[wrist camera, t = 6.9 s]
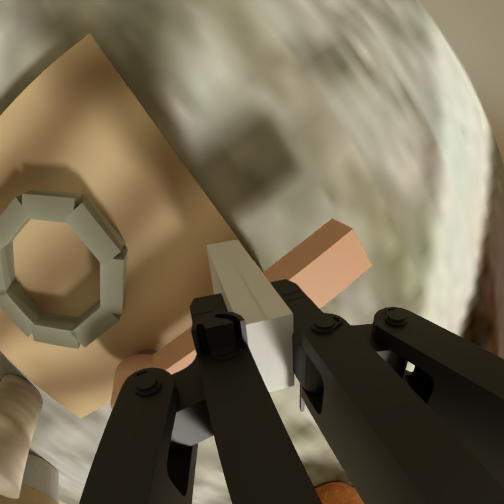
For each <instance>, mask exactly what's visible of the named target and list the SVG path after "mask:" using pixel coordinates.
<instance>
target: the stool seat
mask: <svg viewBox="0 0 504 504" xmlns="http://www.w3.org/2000/svg"><path fill="white" fill-rule="evenodd" d="M232 240H238V241H239V242H240V240H239V239H238V238H237V236H236V235H235V234H234V232H233V231H232V229H231V228H230V227H229V225H228V224H227V223H226V221H225V220H224V218H223V217H222V216H221V214H220V213H219V212H218V210H217V209H216V207H215V206H214V205H213V203H212V202H211V201H210V199H209V198H208V196H207V195H206V194H205V192H204V191H203V190H202V188H201V187H200V185H199V184H198V183H197V181H196V180H195V179H194V177H193V176H192V174H191V173H190V172H189V170H188V169H187V167H186V166H185V165H184V163H183V162H182V161H181V159H180V158H179V156H178V155H177V154H176V152H175V151H174V150H173V148H172V147H171V145H170V144H169V143H168V141H167V140H166V138H165V137H164V136H163V134H162V133H161V132H160V130H159V129H158V127H157V126H156V125H155V123H154V122H153V120H152V119H151V118H150V116H149V115H148V114H147V112H146V111H145V109H144V108H143V107H142V105H141V104H140V102H139V101H138V100H137V98H136V97H135V95H134V94H133V93H132V91H131V90H130V89H129V87H128V86H127V84H126V83H125V82H124V80H123V79H122V77H121V76H120V75H119V73H118V72H117V70H116V69H115V68H114V66H113V65H112V63H111V62H110V61H109V59H108V58H107V57H106V55H105V54H104V52H103V51H102V50H101V48H100V47H99V45H98V44H97V43H96V41H95V40H94V38H93V37H92V36H91V34H88V35H87V36H86V37H84V38H83V39H82V40H80V41H79V42H78V43H76V44H75V45H74V46H73V47H71V48H70V49H69V50H68V51H66V52H65V53H64V54H63V55H61V56H60V57H59V58H58V59H57V60H56V61H54V62H53V63H52V64H51V65H50V66H49V67H48V68H46V69H45V70H44V71H43V72H42V73H41V74H40V75H39V76H38V77H37V78H36V79H35V80H34V81H33V82H32V83H31V84H30V85H29V86H28V87H27V88H26V89H25V90H24V91H23V92H22V93H21V94H20V95H19V96H18V97H17V98H16V99H15V100H14V101H13V102H12V103H11V104H10V105H9V107H8V108H7V109H6V110H5V111H4V112H3V113H2V115H1V116H0V351H1V352H2V353H3V354H4V355H5V356H6V357H7V358H8V359H9V360H10V361H11V362H12V363H13V364H14V365H15V366H16V367H17V368H18V369H19V370H20V371H21V372H22V373H24V374H25V375H26V376H27V377H28V378H29V379H30V380H31V381H33V382H34V383H35V384H36V385H37V386H38V387H40V388H41V389H42V390H43V391H44V392H46V393H47V394H48V395H49V396H50V397H52V398H53V399H54V400H56V401H57V402H58V403H59V404H61V405H62V406H63V407H65V408H66V409H67V410H69V411H70V412H71V413H73V414H74V415H76V416H77V417H78V418H80V419H81V418H83V417H84V416H86V415H88V414H90V413H91V412H93V411H95V410H96V409H98V408H99V407H101V406H103V405H104V404H106V403H108V402H109V401H111V396H112V389H113V383H114V376H115V371H116V368H117V366H118V365H119V364H120V363H121V362H122V361H123V360H125V359H126V358H128V357H131V356H134V355H141V354H148V355H153V354H155V353H156V352H157V351H159V350H160V349H161V348H163V347H164V346H166V345H167V344H168V343H170V342H171V341H172V340H174V339H175V338H176V337H178V336H179V335H181V334H182V333H183V332H185V331H186V330H187V329H189V328H190V327H191V326H192V318H191V312H190V305H191V303H192V301H193V299H194V298H198V297H204V296H209V295H214V290H213V284H212V278H211V271H210V265H209V258H208V252H207V245H209V244H215V243H220V242H226V241H232ZM240 243H241V242H240ZM241 245H242V243H241ZM242 246H243V245H242ZM243 247H244V246H243ZM244 249H245V247H244ZM245 250H246V249H245ZM246 251H247V250H246ZM247 253H248V251H247ZM248 254H249V253H248ZM249 255H250V254H249ZM250 257H251V256H250ZM251 258H252V257H251ZM252 259H253V258H252ZM253 261H254V260H253ZM254 262H255V261H254ZM255 263H256V262H255ZM256 265H257V264H256ZM257 266H258V265H257ZM259 269H260V268H259ZM260 270H261V269H260ZM262 273H263V272H262Z"/></svg>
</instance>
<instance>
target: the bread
mask: <svg viewBox="0 0 504 504" xmlns="http://www.w3.org/2000/svg"><path fill="white" fill-rule="evenodd" d="M315 490H316V492H317V494H318V496H319V498H320V500H321V502H322V504H364V502H363V501H362V499H361V497H360V496H359V494H358V493H357V491H356V489H355V488H353V487H351V486H349V485H348V484H346V483H343V482H331V483H327V484H324V485H321V486H319V487H317V488H315Z"/></svg>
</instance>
